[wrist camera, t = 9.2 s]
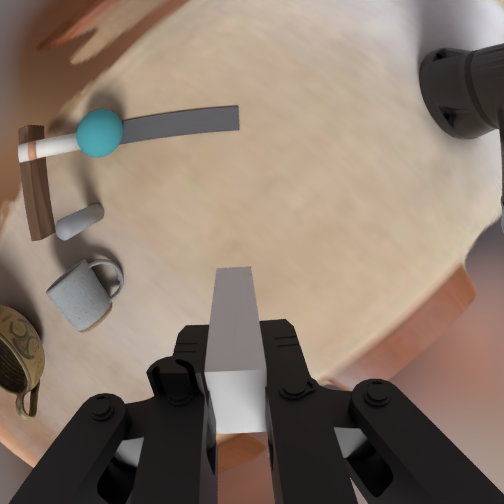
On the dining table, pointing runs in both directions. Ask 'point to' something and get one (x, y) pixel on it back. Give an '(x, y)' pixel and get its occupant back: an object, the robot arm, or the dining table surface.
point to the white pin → (47, 147)
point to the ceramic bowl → (20, 359)
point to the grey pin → (78, 221)
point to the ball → (99, 133)
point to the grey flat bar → (180, 124)
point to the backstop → (36, 188)
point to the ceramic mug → (83, 295)
